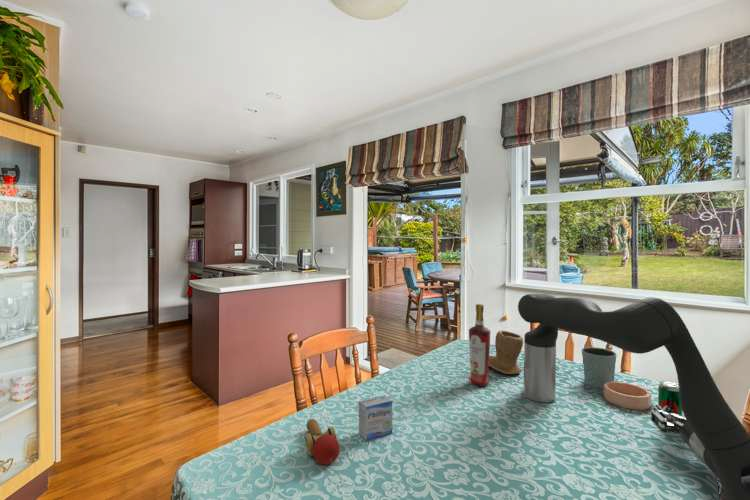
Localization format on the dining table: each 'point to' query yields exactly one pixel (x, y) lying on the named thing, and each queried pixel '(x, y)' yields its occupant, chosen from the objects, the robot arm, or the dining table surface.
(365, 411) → the medicine box
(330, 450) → the kendama
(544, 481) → the dining table surface
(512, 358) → the tan boot
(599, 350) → the grey-green tumbler
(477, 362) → the liquor
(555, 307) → the robot arm
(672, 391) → the soda can
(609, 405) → the mat
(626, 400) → the bowl
